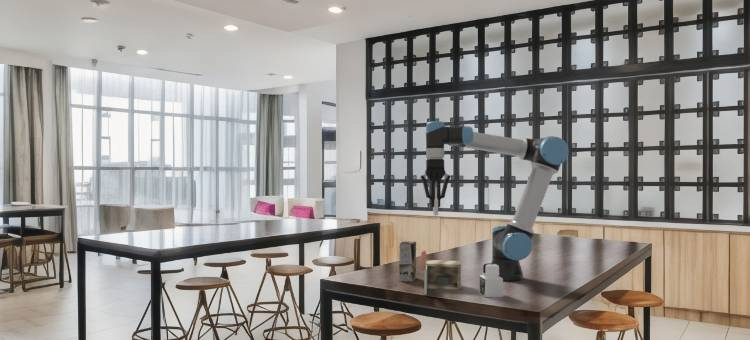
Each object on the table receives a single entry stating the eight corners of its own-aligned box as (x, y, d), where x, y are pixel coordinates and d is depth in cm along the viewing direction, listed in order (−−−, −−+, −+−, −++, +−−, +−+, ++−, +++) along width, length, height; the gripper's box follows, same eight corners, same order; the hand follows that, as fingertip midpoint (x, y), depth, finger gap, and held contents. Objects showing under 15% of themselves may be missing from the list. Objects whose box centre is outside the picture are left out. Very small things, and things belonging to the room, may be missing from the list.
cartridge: (449, 283, 232) (449, 276, 232) (448, 285, 228) (448, 278, 228) (437, 283, 233) (437, 275, 233) (436, 285, 229) (436, 277, 229)
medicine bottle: (479, 293, 219) (479, 262, 219) (497, 293, 219) (497, 262, 219) (484, 297, 212) (484, 265, 212) (503, 297, 212) (503, 265, 212)
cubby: (460, 285, 234) (460, 261, 234) (459, 289, 225) (460, 264, 225) (426, 283, 237) (427, 259, 237) (424, 288, 228) (424, 263, 228)
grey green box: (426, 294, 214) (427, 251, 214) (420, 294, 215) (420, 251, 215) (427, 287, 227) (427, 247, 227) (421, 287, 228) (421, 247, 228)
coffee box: (413, 282, 240) (413, 244, 240) (398, 281, 242) (398, 243, 242) (416, 278, 249) (416, 241, 249) (402, 277, 251) (402, 240, 251)
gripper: (448, 158, 241) (448, 214, 241) (418, 158, 239) (418, 214, 239) (452, 158, 233) (453, 215, 233) (421, 158, 232) (422, 216, 232)
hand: (435, 215), depth 236 cm, fingers closed
